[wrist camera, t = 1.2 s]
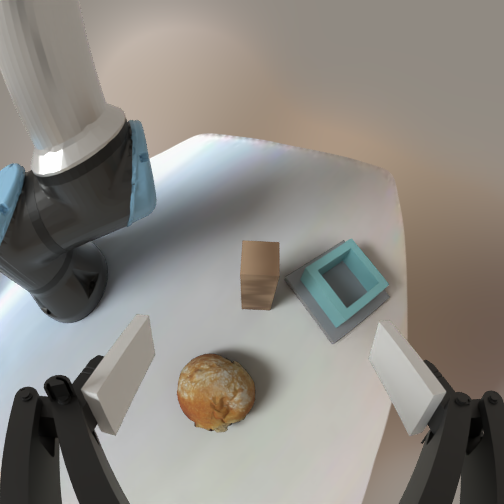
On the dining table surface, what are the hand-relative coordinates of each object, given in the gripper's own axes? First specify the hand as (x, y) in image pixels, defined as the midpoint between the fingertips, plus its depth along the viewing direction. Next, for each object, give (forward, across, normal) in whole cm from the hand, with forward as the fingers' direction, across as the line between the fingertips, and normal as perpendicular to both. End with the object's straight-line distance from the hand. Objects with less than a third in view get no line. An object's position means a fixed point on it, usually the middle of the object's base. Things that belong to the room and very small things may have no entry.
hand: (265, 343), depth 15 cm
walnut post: (+24, 0, -8) cm, 25 cm away
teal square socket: (+25, +12, -7) cm, 29 cm away
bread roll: (+14, -5, -18) cm, 24 cm away
